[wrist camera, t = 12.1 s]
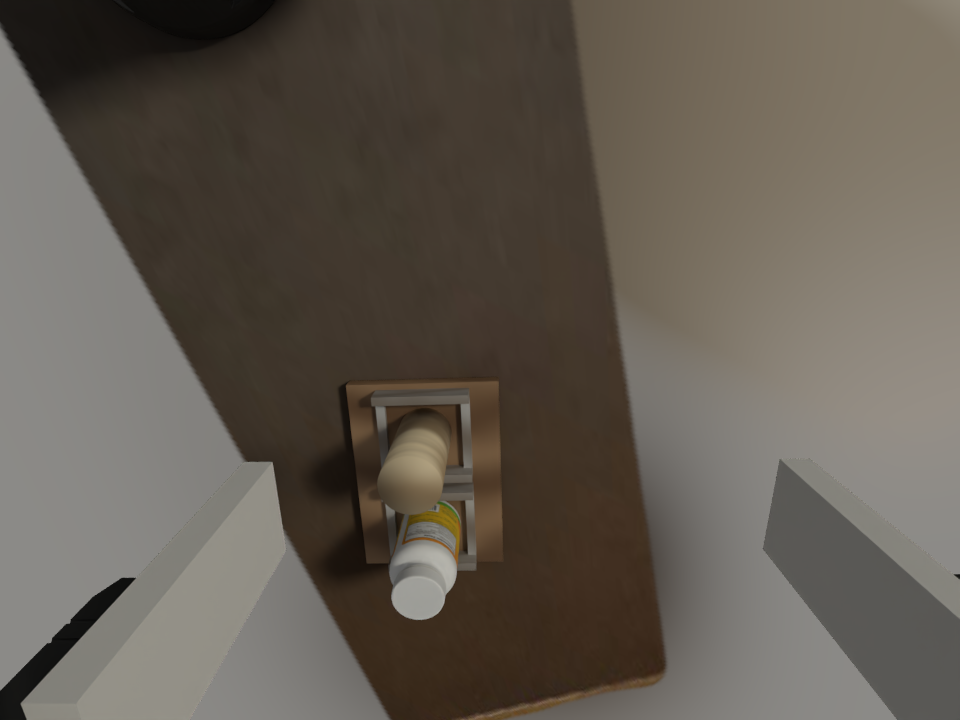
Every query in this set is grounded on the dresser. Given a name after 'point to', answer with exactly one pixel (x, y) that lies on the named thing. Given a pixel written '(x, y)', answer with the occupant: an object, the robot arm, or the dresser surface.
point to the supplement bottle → (425, 561)
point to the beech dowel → (416, 462)
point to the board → (468, 464)
